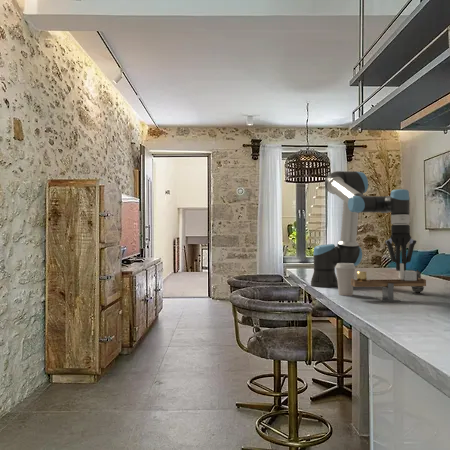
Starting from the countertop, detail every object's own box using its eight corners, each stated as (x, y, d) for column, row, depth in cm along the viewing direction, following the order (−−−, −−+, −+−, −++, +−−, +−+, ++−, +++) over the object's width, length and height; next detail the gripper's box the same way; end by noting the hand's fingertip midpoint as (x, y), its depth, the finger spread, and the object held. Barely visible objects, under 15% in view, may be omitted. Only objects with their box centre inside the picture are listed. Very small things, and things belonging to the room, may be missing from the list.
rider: (401, 281, 182) (400, 270, 182) (413, 281, 182) (412, 270, 182) (404, 283, 178) (404, 271, 178) (416, 283, 177) (416, 271, 177)
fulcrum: (375, 298, 185) (375, 281, 185) (393, 298, 184) (393, 281, 185) (381, 301, 176) (381, 283, 176) (400, 302, 175) (400, 283, 176)
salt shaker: (414, 292, 203) (413, 268, 203) (426, 294, 198) (426, 269, 198) (409, 294, 199) (408, 269, 199) (421, 295, 194) (420, 270, 195)
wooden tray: (351, 284, 185) (350, 278, 185) (419, 284, 183) (419, 277, 183) (354, 286, 178) (354, 280, 178) (426, 286, 176) (425, 279, 176)
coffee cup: (357, 296, 192) (356, 264, 192) (336, 295, 194) (335, 264, 194) (354, 293, 201) (354, 262, 202) (334, 293, 203) (334, 262, 204)
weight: (356, 282, 184) (356, 271, 184) (365, 282, 183) (365, 271, 183) (358, 283, 180) (358, 272, 180) (367, 283, 179) (367, 272, 179)
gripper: (387, 224, 177) (388, 279, 177) (418, 224, 176) (419, 279, 176) (382, 224, 185) (383, 277, 184) (412, 224, 184) (413, 277, 183)
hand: (401, 278), depth 180 cm, fingers closed
